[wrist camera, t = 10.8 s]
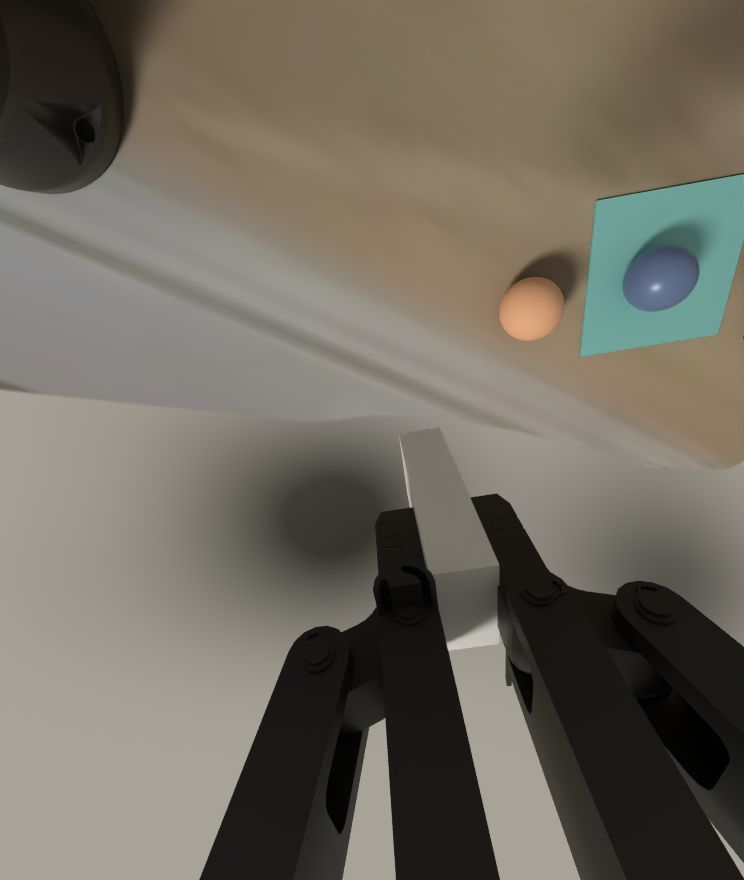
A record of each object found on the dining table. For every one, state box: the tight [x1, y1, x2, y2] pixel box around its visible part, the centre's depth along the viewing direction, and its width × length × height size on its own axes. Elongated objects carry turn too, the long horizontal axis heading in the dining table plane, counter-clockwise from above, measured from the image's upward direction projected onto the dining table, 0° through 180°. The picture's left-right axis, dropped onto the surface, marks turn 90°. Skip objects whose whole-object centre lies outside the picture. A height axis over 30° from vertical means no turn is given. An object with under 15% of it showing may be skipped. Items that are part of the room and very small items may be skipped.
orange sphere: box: [499, 277, 564, 341], centre depth 35 cm, size 6×6×6 cm
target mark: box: [580, 174, 744, 357], centre depth 36 cm, size 14×14×1 cm
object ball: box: [622, 245, 700, 312], centre depth 34 cm, size 6×6×6 cm
